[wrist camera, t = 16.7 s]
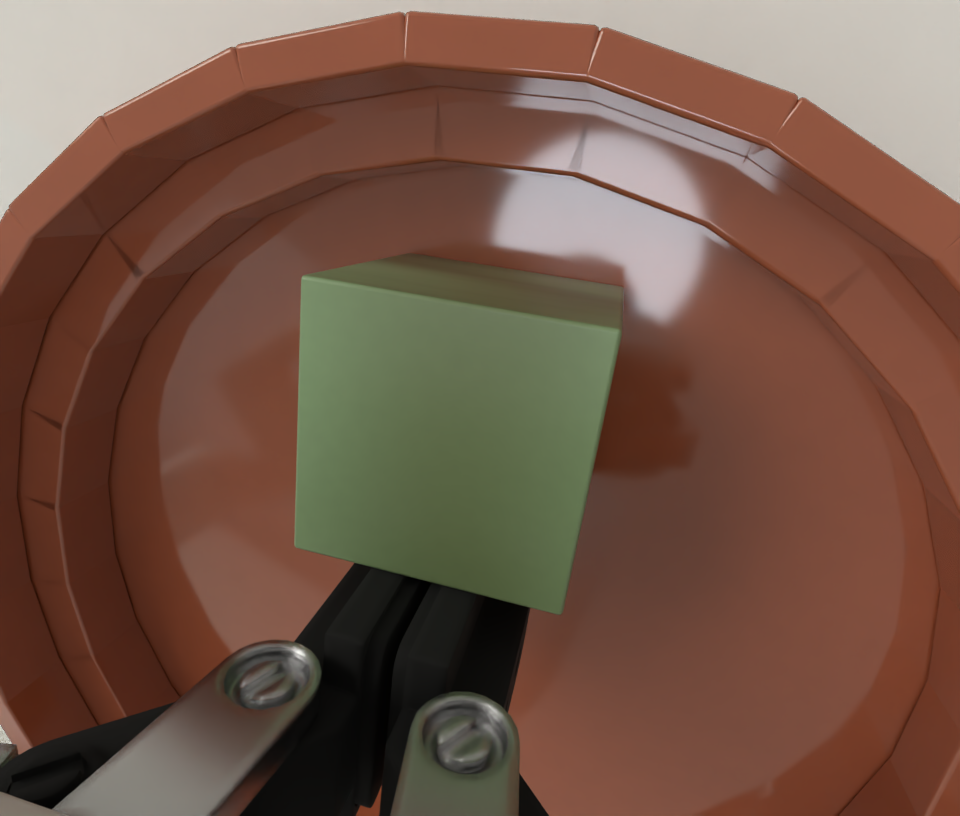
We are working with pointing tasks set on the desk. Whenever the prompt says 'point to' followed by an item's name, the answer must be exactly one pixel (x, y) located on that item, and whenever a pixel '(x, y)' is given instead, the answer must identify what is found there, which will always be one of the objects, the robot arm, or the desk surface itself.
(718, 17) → the desk surface
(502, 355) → the block
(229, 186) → the bowl
